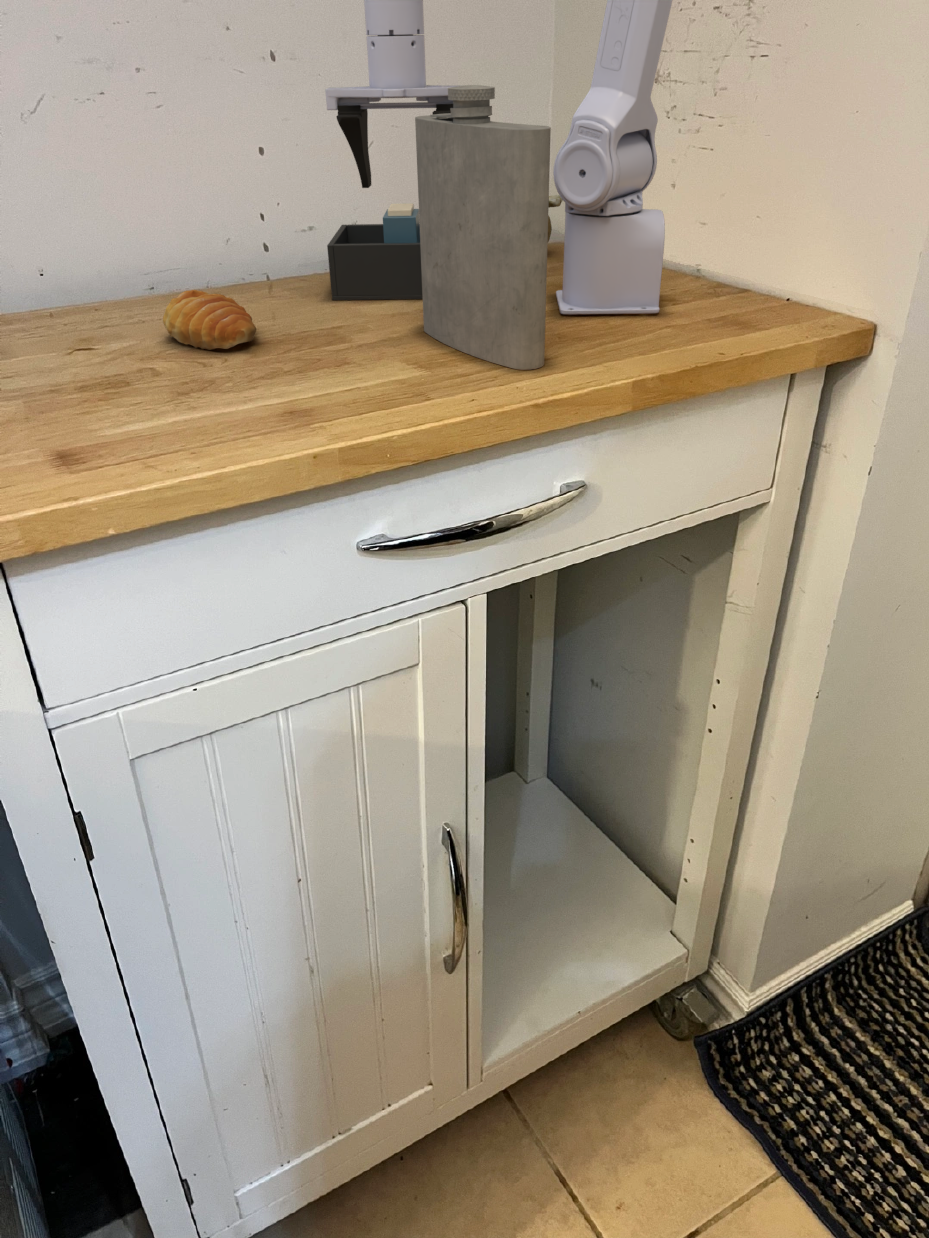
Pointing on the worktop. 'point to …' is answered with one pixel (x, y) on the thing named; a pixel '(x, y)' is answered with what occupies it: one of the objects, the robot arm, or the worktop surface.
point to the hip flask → (484, 230)
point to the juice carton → (401, 224)
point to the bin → (373, 265)
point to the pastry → (208, 320)
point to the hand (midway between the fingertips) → (402, 186)
